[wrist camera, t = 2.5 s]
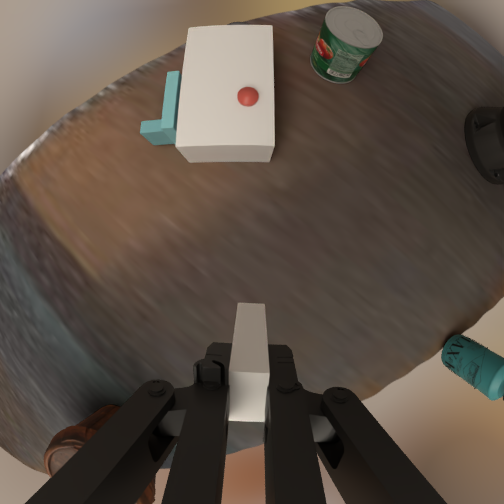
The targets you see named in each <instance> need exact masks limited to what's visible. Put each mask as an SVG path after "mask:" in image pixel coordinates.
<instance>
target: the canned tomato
mask: <svg viewBox="0 0 504 504" xmlns="http://www.w3.org/2000/svg"><path fill="white" fill-rule="evenodd" d="M382 39H383V33H382V30H381V28H380V26H379V25H378V23H377V22H376V21H375V20H374V19H373V18H372V17H371V16H369V15H368V14H366V13H365V12H363V11H361V10H358V9H356V8H352V7H346V6H339V7H334V8H332V9H330V10H329V11H328V12H327V14H326V17H325V20H324V22H323V25H322V27H321V30H320V33H319V35H318V38H317V41H316V43H315V46H314V49H313V52H312V53H311V56H310V62H311V66H312V68H313V69H314V71H315V72H316V73H317V74H318V75H319V76H320V77H322V78H323V79H325V80H327V81H329V82H332V83H337V84H343V83H348V82H350V81H352V80H353V79H354V78H355V77H356V75H357V74H358V73H359V71H360V70H361V68H362V67H363V66H364V64H365V63H366V62H367V60H368V59H369V58H370V56H371V55H372V53H373V52H374V51H375V49H376V48H377V47H378V45H379V44H380V43H381V41H382Z"/></svg>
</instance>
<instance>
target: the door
mask: <svg viewBox="0 0 504 504" xmlns="http://www.w3.org/2000/svg"><path fill="white" fill-rule="evenodd" d="M181 80H182V76H181V74H180V72H179V71H172V72H167V79H166V87H165V95H164V103H163V112H162V119H161V120H151V121H142V122H141V130H140V134H141V135H143V136H144V137H145V138H146V139H147V140H148V141H149V142H151V143H152V144H153V145H163V144H175V145H176V133H177V120H178V109H179V98H180V89H181Z"/></svg>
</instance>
